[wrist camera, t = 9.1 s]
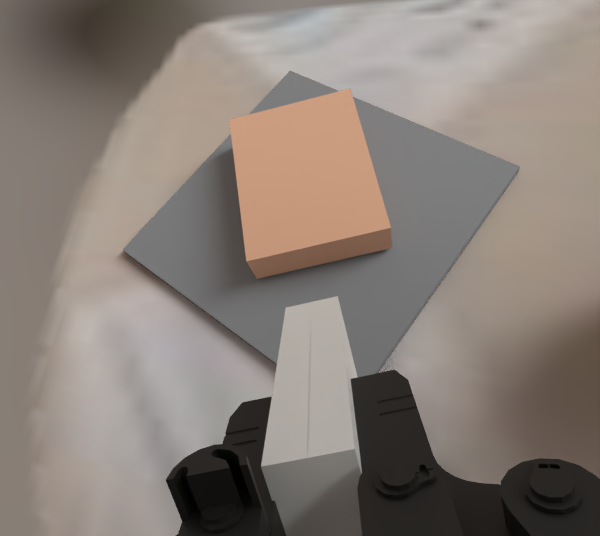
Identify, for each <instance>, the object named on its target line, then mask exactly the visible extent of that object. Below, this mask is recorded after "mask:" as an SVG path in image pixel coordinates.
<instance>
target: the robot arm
mask: <svg viewBox="0 0 600 536" xmlns="http://www.w3.org/2000/svg"><path fill="white" fill-rule="evenodd" d="M166 482H167V484H168V487H169V489H170V492H171V494H172V497H173V499H174V502H175V504H176V507H177V509H178V512H179V514H180V517H181V519H182V524H181V527H180V531H179V534H177V535H176V536H600V479H599V478H598V477H597V476H595V475H594V474H592V473H590V472H589V471H587V470H586V469H584V468H582V467H581V466H579V465H576V464H573V463H569V462H566V461H563V460H559V459H535V460H530V461H525V462H522V463H520V464H518V465H517V466H515V467H513V468H511V469H510V470H509V471H508V472H507V474H506V475H505V477H504V478H503V480H502V481H501V485H498V484H484V483H476V482H470V481H466V480H463V479H460V478H457V477H454V476H453V475H451V474H449V473H448V472H446V471H445V470H444V469H442V468H441V467H440V466H439V465H438V464H437V462H436V460H435V458H434V456H433V454H432V451H431V448H430V445H429V442H428V439H427V436H426V433H425V430H424V427H423V424H422V421H421V418H420V415H419V412H418V409H417V406H416V403H415V400H414V397H413V394H412V391H411V388H410V385H409V382H408V380H407V379H406V378H404V377H403V376H402V375H401V374H399V373H398V372H397V371H395V370H391V371H386V372H382V373H377V374H372V375H367V376H362V377H357V373H356V369H355V365H354V361H353V357H352V352H351V348H350V344H349V340H348V336H347V332H346V328H345V324H344V320H343V316H342V312H341V307H340V303H339V299H338V296H336V297H331V298H327V299H322V300H318V301H313V302H309V303H304V304H300V305H295V306H291V307H286V309H285V315H284V322H283V328H282V335H281V341H280V348H279V354H278V360H277V367H276V373H275V380H274V386H273V393H272V397H267V398H262V399H258V400H253V401H248V402H243V403H242V404H241V405H240V406H239V407H238V409H237V410H236V411H235V412H234V413H233V415H232V416H231V417H230V419H229V423H228V426H227V430H226V436H225V437H224V441H223V444H219V445H212V446H209V447H206V448H203V449H200V450H198V451H196V452H194V453H193V454H191V455H189V456H187V457H186V458H184V459H183V460H182V461H181V462H180V463H179V464H178V465H176V466H175V467H174V468H173V470H172V471H171V473H170V474H169V476H168V477H167V479H166Z"/></svg>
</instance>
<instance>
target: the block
mask: <svg viewBox="0 0 600 536" xmlns="http://www.w3.org/2000/svg"><path fill="white" fill-rule="evenodd" d="M229 122H230V130H231V138H232V147H233V155H234V163H235V171H236V180H237V188H238V196H239V204H240V213H241V221H242V229H243V237H244V246H245V254H246V262H247V263H248V265H249V267H250V268H251V270H252V272H253V273H254V275H255V277H256V278H257V279H259V278H263V277H267V276H272V275H276V274H281V273H285V272H289V271H294V270H298V269H302V268H307V267H311V266H315V265H320V264H324V263H329V262H333V261H337V260H342V259H346V258H350V257H355V256H359V255H363V254H368V253H372V252H376V251H381V250H385V249H390V248H392V237H391V226H390V222H389V219H388V216H387V212H386V209H385V205H384V202H383V198H382V195H381V192H380V188H379V185H378V181H377V178H376V174H375V171H374V168H373V164H372V161H371V157H370V154H369V150H368V147H367V144H366V140H365V137H364V133H363V130H362V126H361V123H360V120H359V116H358V113H357V109H356V106H355V102H354V99H353V96H352V92H351V89H346V90H342V91H338V92H334V93H330V94H327V95H323V96H319V97H315V98H311V99H307V100H304V101H300V102H296V103H292V104H288V105H284V106H280V107H277V108H273V109H269V110H265V111H261V112H257V113H254V114H250V115H246V116H242V117H238V118H234V119H230V120H229Z"/></svg>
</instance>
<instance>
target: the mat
mask: <svg viewBox="0 0 600 536" xmlns="http://www.w3.org/2000/svg"><path fill="white" fill-rule="evenodd" d="M334 92H338V91H337V90H335V89H333V88H330V87H328V86H325V85H323V84H321V83H318V82H316V81H313V80H311V79H309V78H306V77H304V76H302V75H299V74H297V73H294V72H292V71H289V72H288V74H287V75H286V76H285V77H284V78H283V79H282V80H281V81H280V82H279V83H278V84H277V85H276V86H275V87H274V89H273V90H272V91H271V92H270V93H269V94H268V95H267V96H266V97H265V98H264V99H263V100H262V101H261V102H260V103H259V105H258V106H257V107H256V108H255V109H254V110H253V111H252V112H251V113H250V114H254V113H257V112H261V111H265V110H269V109H273V108H277V107H280V106H284V105H288V104H292V103H296V102H300V101H304V100H307V99H311V98H315V97H319V96H323V95H327V94H330V93H334ZM353 99H354V102H355V106H356V109H357V113H358V116H359V120H360V123H361V126H362V130H363V133H364V137H365V140H366V144H367V147H368V150H369V154H370V157H371V161H372V164H373V168H374V171H375V174H376V178H377V181H378V185H379V188H380V192H381V195H382V198H383V202H384V205H385V209H386V212H387V216H388V219H389V222H390V226H391V237H392V248H390V249H385V250H381V251H376V252H372V253H368V254H363V255H359V256H355V257H350V258H346V259H342V260H337V261H333V262H329V263H324V264H320V265H315V266H311V267H307V268H302V269H298V270H294V271H289V272H285V273H281V274H276V275H272V276H267V277H263V278H259V279H257V278H256V277H255V275H254V273H253V272H252V270H251V268H250V267H249V265H248V263H247V262H246V254H245V246H244V237H243V229H242V221H241V213H240V204H239V196H238V188H237V180H236V171H235V163H234V155H233V147H232V138H231V134H230V136H229V137H228V138H227V139H226V140H225V141H224V142H223V143H222V144H221V145H220V146H219V147H218V148H217V149H216V150H215V152H214V153H213V154H212V155H211V156H210V157H209V158H208V159H207V160H206V161H205V162H204V163H203V164H202V165H201V166H200V168H199V169H198V170H197V171H196V172H195V173H194V174H193V175H192V176H191V177H190V178H189V179H188V180H187V181H186V183H185V184H184V185H183V186H182V187H181V188H180V189H179V190H178V191H177V192H176V193H175V194H174V195H173V196H172V197H171V199H170V200H169V201H168V202H167V203H166V204H165V205H164V206H163V207H162V208H161V209H160V210H159V211H158V212H157V214H156V215H155V216H154V217H153V218H152V219H151V220H150V221H149V222H148V223H147V224H146V225H145V226H144V227H143V228H142V230H141V231H140V232H139V233H138V234H137V235H136V236H135V237H134V238H133V239H132V240H131V241H130V242H129V243H128V244H127V246H126V247H125V248H124V249H123V251H124V252H125V253H126V254H128V255H129V256H130V257H132V258H133V259H135V260H136V261H137V262H139V263H140V264H141V265H143V266H144V267H145V268H147V269H148V270H149V271H151V272H152V273H153V274H155V275H156V276H157V277H159V278H160V279H162V280H163V281H164V282H166V283H167V284H168V285H170V286H171V287H172V288H174V289H175V290H176V291H178V292H179V293H180V294H182V295H183V296H185V297H186V298H187V299H189V300H190V301H191V302H193V303H194V304H195V305H197V306H198V307H199V308H201V309H202V310H203V311H205V312H206V313H207V314H209V315H210V316H212V317H213V318H214V319H216V320H217V321H218V322H220V323H221V324H222V325H224V326H225V327H226V328H228V329H229V330H230V331H232V332H233V333H234V334H236V335H237V336H239V337H240V338H241V339H243V340H244V341H245V342H247V343H248V344H249V345H251V346H252V347H253V348H255V349H256V350H257V351H259V352H260V353H261V354H263V355H264V356H266V357H267V358H268V359H270V360H271V361H272V362H274V363H275V364H276V365H277V360H278V354H279V348H280V341H281V335H282V328H283V322H284V315H285V309H286V307H291V306H295V305H300V304H304V303H309V302H313V301H318V300H322V299H327V298H331V297H336V296H338V299H339V303H340V307H341V312H342V316H343V320H344V324H345V328H346V332H347V336H348V340H349V344H350V348H351V352H352V357H353V361H354V365H355V369H356V373H357V377H362V376H367V375H372V374H377V373H378V372H379V371H380V369H381V368H382V366H383V365H384V363H385V362H386V361H387V359H388V358H389V356H390V355H391V353H392V352H393V351H394V349H395V348H396V346H397V345H398V343H399V342H400V341H401V339H402V338H403V336H404V335H405V333H406V332H407V330H408V329H409V328H410V326H411V325H412V323H413V322H414V320H415V319H416V318H417V316H418V315H419V313H420V312H421V310H422V309H423V308H424V306H425V305H426V303H427V302H428V300H429V299H430V298H431V296H432V295H433V293H434V292H435V290H436V289H437V288H438V286H439V285H440V283H441V282H442V280H443V279H444V278H445V276H446V275H447V273H448V272H449V270H450V269H451V267H452V266H453V265H454V263H455V262H456V260H457V259H458V257H459V256H460V255H461V253H462V252H463V250H464V249H465V247H466V246H467V245H468V243H469V242H470V240H471V239H472V237H473V236H474V235H475V233H476V232H477V230H478V229H479V227H480V226H481V225H482V223H483V222H484V220H485V219H486V217H487V216H488V215H489V213H490V212H491V210H492V209H493V207H494V206H495V205H496V203H497V202H498V200H499V199H500V197H501V196H502V194H503V193H504V192H505V190H506V189H507V187H508V186H509V184H510V183H511V182H512V180H513V179H514V177H515V176H516V174H517V173H518V171H519V168H520V166H517V165H515V164H512V163H510V162H508V161H505V160H503V159H500V158H498V157H496V156H493V155H491V154H488V153H486V152H484V151H481V150H479V149H476V148H474V147H472V146H469V145H467V144H465V143H462V142H460V141H457V140H455V139H453V138H450V137H448V136H445V135H443V134H441V133H438V132H436V131H433V130H431V129H429V128H426V127H424V126H421V125H419V124H417V123H414V122H412V121H409V120H407V119H405V118H402V117H400V116H397V115H395V114H393V113H390V112H388V111H385V110H383V109H381V108H378V107H376V106H373V105H371V104H369V103H366V102H364V101H361V100H359V99H357V98H354V97H353ZM250 114H249V115H250Z"/></svg>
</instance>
